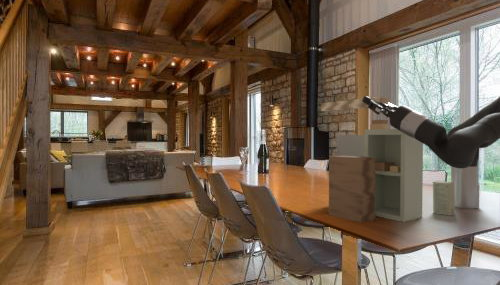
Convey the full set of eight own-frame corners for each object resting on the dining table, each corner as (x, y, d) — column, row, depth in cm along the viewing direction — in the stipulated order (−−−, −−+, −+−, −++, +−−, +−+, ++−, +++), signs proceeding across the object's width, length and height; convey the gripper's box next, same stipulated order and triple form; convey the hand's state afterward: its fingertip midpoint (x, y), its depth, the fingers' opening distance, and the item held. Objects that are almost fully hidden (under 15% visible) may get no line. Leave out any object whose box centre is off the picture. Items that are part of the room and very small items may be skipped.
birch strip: (321, 110, 127) (321, 103, 127) (328, 111, 130) (328, 103, 130) (381, 105, 106) (381, 96, 106) (388, 106, 108) (388, 97, 108)
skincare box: (454, 214, 123) (455, 182, 123) (449, 216, 121) (450, 183, 120) (437, 211, 128) (437, 180, 128) (432, 212, 126) (432, 181, 125)
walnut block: (342, 211, 127) (343, 155, 126) (374, 219, 115) (375, 157, 115) (328, 214, 122) (329, 156, 122) (360, 222, 111) (361, 158, 110)
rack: (382, 209, 131) (382, 121, 131) (422, 217, 118) (423, 119, 118) (363, 213, 125) (364, 120, 124) (404, 222, 111) (405, 118, 111)
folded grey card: (369, 204, 141) (370, 135, 140) (373, 207, 135) (374, 135, 135) (336, 203, 142) (336, 135, 142) (338, 206, 137) (338, 135, 136)
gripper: (427, 112, 103) (384, 90, 115) (403, 110, 95) (359, 87, 107) (415, 133, 106) (375, 109, 118) (391, 132, 98) (350, 107, 110)
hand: (368, 99), depth 112 cm, fingers closed on birch strip, 4 cm apart
